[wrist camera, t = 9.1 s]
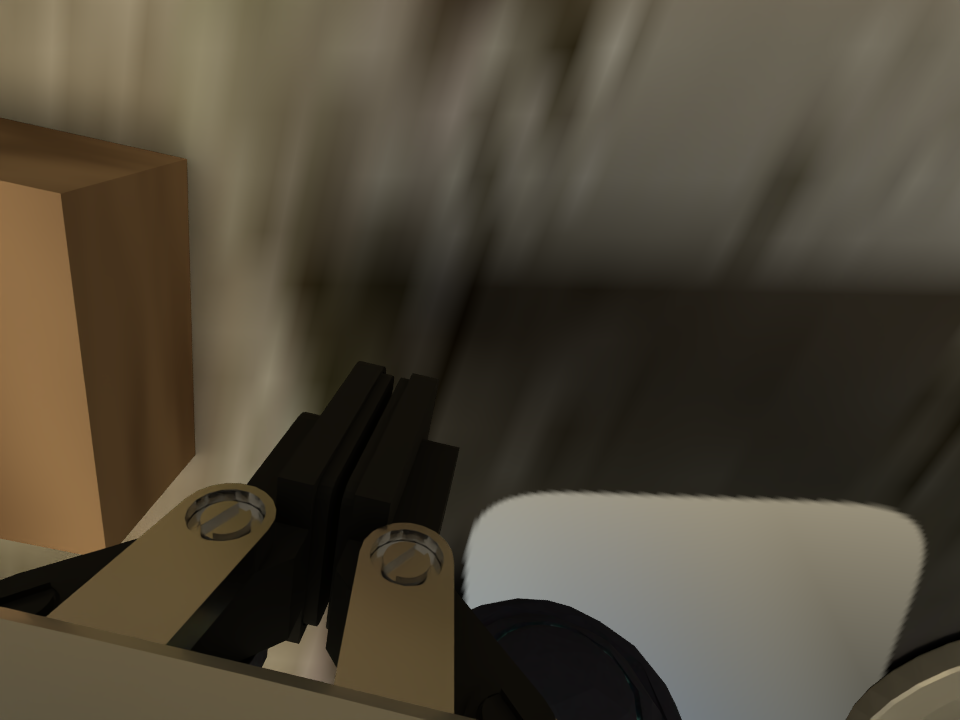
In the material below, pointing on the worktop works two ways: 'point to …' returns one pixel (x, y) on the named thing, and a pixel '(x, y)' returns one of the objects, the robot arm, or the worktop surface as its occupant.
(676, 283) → the worktop surface
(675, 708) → the portable speaker
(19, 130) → the brown rectangular box
